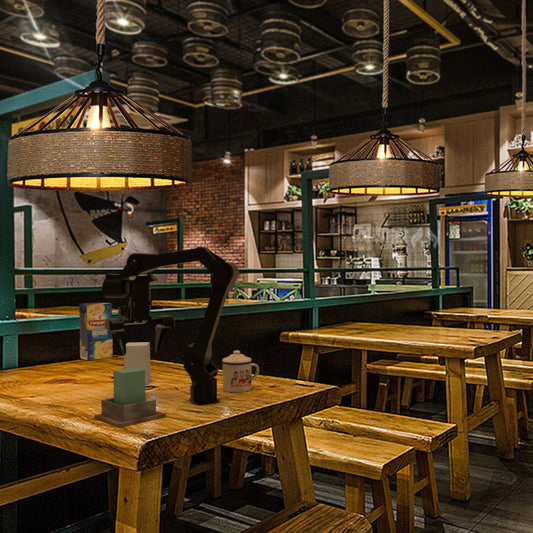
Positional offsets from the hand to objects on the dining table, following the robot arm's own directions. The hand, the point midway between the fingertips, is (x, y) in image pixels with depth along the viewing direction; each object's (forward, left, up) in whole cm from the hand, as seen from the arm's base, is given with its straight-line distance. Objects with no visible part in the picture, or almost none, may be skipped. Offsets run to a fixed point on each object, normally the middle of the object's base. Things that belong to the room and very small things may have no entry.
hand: (140, 353), depth 166 cm
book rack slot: (+8, +18, -13) cm, 23 cm away
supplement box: (-6, -23, -13) cm, 27 cm away
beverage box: (-7, -82, -13) cm, 83 cm away
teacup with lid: (-30, +3, -13) cm, 33 cm away
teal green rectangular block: (+8, +18, -12) cm, 23 cm away
